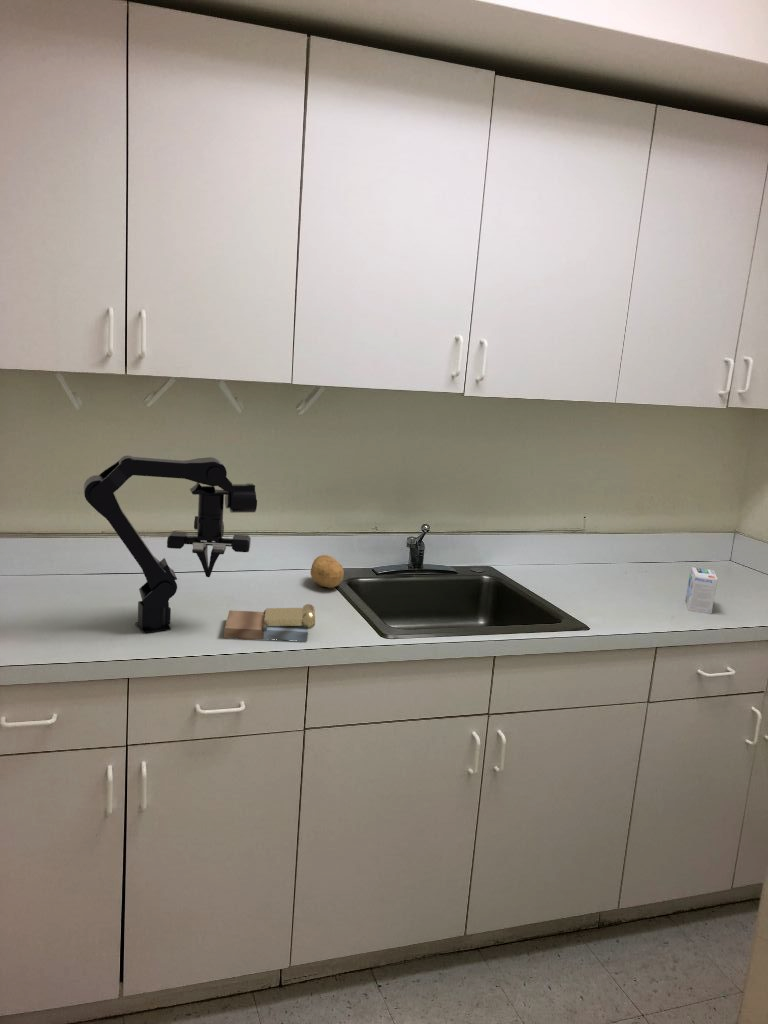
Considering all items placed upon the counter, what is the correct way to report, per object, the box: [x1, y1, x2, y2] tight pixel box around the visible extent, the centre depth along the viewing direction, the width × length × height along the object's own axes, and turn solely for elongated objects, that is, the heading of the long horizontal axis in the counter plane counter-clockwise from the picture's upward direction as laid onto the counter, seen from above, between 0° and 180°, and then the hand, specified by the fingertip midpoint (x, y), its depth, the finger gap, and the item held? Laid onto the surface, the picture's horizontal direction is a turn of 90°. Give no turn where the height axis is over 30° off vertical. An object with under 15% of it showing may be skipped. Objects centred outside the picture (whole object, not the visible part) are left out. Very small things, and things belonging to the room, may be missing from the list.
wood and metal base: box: [223, 609, 308, 642], centre depth 193 cm, size 19×12×3 cm, turn 96°
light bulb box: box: [684, 566, 719, 615], centre depth 240 cm, size 11×7×11 cm, turn 165°
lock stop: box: [264, 603, 316, 630], centre depth 193 cm, size 3×8×12 cm
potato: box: [310, 554, 345, 589], centre depth 230 cm, size 10×14×8 cm
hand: (208, 576), depth 191 cm, fingers closed
